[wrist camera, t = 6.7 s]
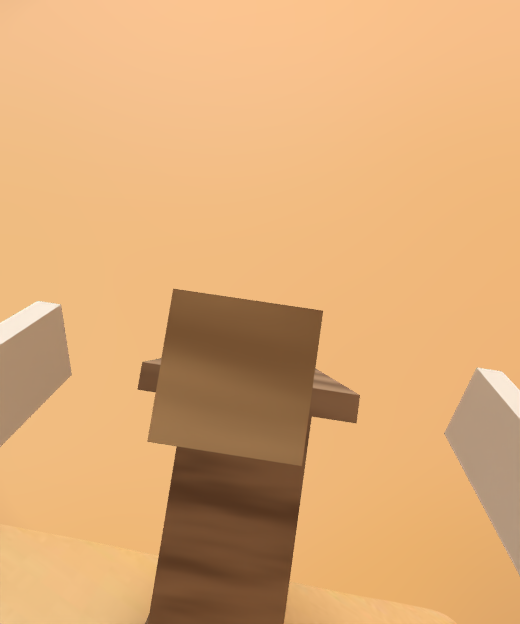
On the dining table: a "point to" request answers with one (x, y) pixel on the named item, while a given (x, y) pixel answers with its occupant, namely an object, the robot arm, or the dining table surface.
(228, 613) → the shelf stand
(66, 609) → the dining table surface
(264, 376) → the brown streaked block
